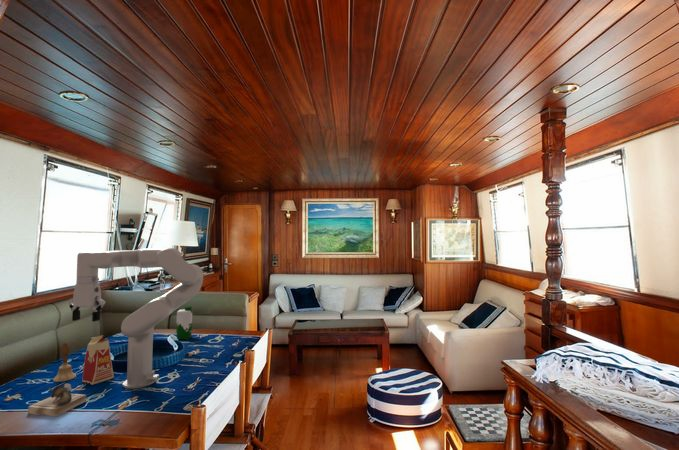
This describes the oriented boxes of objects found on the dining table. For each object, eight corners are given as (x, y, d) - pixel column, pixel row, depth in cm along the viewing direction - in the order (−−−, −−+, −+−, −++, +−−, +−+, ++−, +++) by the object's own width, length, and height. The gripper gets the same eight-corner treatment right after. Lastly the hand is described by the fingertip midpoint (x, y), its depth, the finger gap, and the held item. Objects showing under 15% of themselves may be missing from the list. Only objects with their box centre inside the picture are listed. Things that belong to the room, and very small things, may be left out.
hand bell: (63, 382, 156) (64, 345, 156) (48, 381, 157) (49, 344, 158) (80, 375, 164) (81, 340, 164) (65, 374, 165) (67, 339, 166)
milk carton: (114, 377, 161) (115, 333, 162) (92, 385, 153) (94, 338, 154) (101, 374, 165) (102, 331, 166) (80, 381, 157) (81, 336, 158)
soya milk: (190, 339, 224) (191, 307, 225) (175, 340, 222) (175, 308, 223) (192, 336, 233) (193, 305, 234) (177, 337, 230) (178, 306, 231)
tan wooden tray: (85, 401, 137) (86, 394, 137) (56, 416, 125) (56, 408, 125) (59, 399, 139) (59, 392, 139) (27, 413, 127) (28, 406, 127)
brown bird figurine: (41, 399, 130) (44, 401, 124) (54, 379, 134) (58, 380, 128) (62, 405, 134) (67, 408, 128) (75, 385, 138) (80, 387, 132)
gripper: (111, 279, 154) (110, 319, 153) (77, 279, 157) (76, 318, 156) (97, 281, 147) (96, 323, 146) (61, 281, 150) (60, 321, 149)
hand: (86, 320), depth 151 cm, fingers open, 9 cm apart
